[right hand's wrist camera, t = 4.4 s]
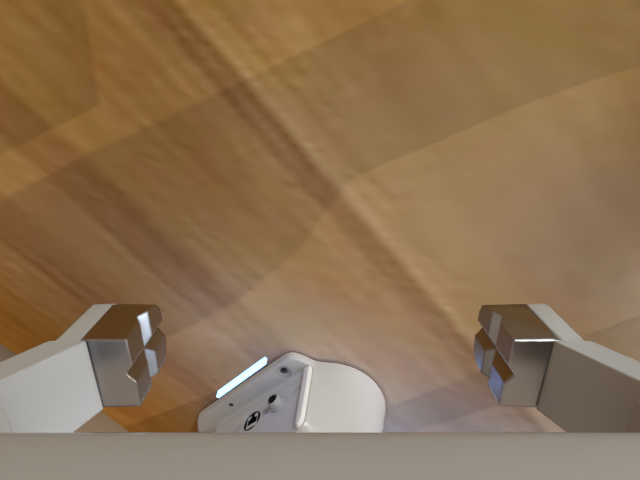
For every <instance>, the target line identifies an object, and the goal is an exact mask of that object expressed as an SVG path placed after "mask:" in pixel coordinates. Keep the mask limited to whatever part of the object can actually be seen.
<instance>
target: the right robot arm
mask: <svg viewBox="0 0 640 480" xmlns="http://www.w3.org/2000/svg"><path fill="white" fill-rule="evenodd" d="M161 321H162V317H161V312H160V308H159V307H158V306H157V305H146V304H95V305H92V306H91V307H90V308H89V309H88V310H87V311H86V312H85V313H84V314H83V315H82V316H81V317H80V318H79V319H78V320H77V321H76V322H75V323H74V324H73V325H72V326H71V327H69V328H68V329H67V330H66V331H65V332H64V333H63V334H62V335H61V336H60V337H59V338H58V339H57V340H56V341H48V342H45V343H43V344H41V345H38V346H36V347H34V348H31V349H29V350H27V351H25V352H22V353H20V354H18V355H15V356H13V357H11V358H9V359H6V360H4V361H2V362H0V480H640V362H638V361H636V360H634V359H631V358H629V357H627V356H625V355H622V354H620V353H618V352H615V351H613V350H611V349H608V348H606V347H604V346H602V345H599V344H597V343H595V342H592V341H584V340H583V339H582V338H581V337H580V336H579V335H578V334H577V333H576V332H575V331H574V330H573V329H572V328H571V327H570V326H569V325H568V324H566V323H565V322H564V321H563V320H562V319H561V318H560V317H559V316H558V315H557V314H556V313H555V312H554V311H553V310H552V309H551V308H550V307H549V306H548V305H545V304H543V303H542V304H511V305H482V307H481V309H480V311H479V317H478V321H479V322H480V324H481V326H482V327H483V328H482V329H481V330H480V331H479V332H478V333H477V334H476V335H475V341H474V355H475V360H476V363H477V366H478V368H479V370H480V372H481V373H483V374H484V375H486V376H487V377H489V383H488V386H489V388H490V390H491V391H492V393H493V395H494V397H495V399H496V400H497V402H498V404H499V406H515V407H537V409H538V410H539V411H540V412H542V413H543V414H544V415H545V416H547V417H548V418H549V419H551V420H552V421H553V422H554V423H556V424H557V425H558V426H560V427H561V428H562V429H563V430H565V431H566V432H490V433H383V424H384V419H385V413H386V405H385V400H384V397H383V394H382V392H381V390H380V389H379V387H378V386H377V384H376V383H375V382H374V381H373V380H372V379H371V378H370V377H368V376H367V375H366V374H364V373H363V372H361V371H359V370H357V369H355V368H352V367H350V366H347V365H343V364H338V363H330V362H320V361H315V360H313V359H310V358H308V357H306V356H304V355H301V354H298V353H294V352H290V353H286V354H284V355H283V356H281V357H280V358H278V359H277V360H276V361H274V362H273V363H271V364H270V365H268V366H267V367H265V368H264V369H262V370H261V371H259V372H258V373H256V374H255V375H253V376H252V377H250V378H249V379H248V380H246V381H245V382H243V383H242V384H240V385H239V386H237V387H236V388H234V387H235V386H236V385H238V384H239V383H241V382H242V381H243V380H245V379H246V378H247V377H249V376H250V375H252V374H253V373H254V372H256V371H257V370H259V369H260V368H261V367H263V366H264V365H266V362H267V358H266V357H264V358H263V359H261V360H260V361H258V362H257V363H256V364H254V365H253V366H252V367H250V368H249V369H247V370H246V371H245V372H243V373H242V374H240V375H239V376H238V377H236V378H235V379H234V380H232V381H231V382H229V383H228V384H227V385H225V386H224V387H223V388H221V389H220V390H218V393H217V396H216V397H218V398H220V397H221V396H222V395H224V394H225V393H227V392H228V391H229V390H231V389H232V388H234V389H233V390H231V391H230V392H228V393H227V394H225V395H224V396H223V397H221V398H220V399H218V400H217V401H215V402H214V403H212V404H211V405H209V406H208V407H206V408H205V409H204V410H202V411H201V412H200V413H199V416H198V420H197V425H198V432H199V433H142V432H126V433H125V432H124V433H123V432H121V433H119V432H117V433H115V432H114V433H112V432H109V433H107V432H105V433H104V432H100V433H99V432H98V433H97V432H96V433H95V432H94V433H93V432H91V433H89V432H86V433H84V432H81V433H80V432H79V433H78V432H77V433H76V432H75V433H74V431H75V430H77V429H78V428H79V427H80V426H82V425H83V424H84V423H86V422H87V421H88V420H90V419H91V418H92V417H93V416H95V415H96V414H97V413H99V412H100V411H101V410H102V409H103V407H124V406H141V404H142V402H143V400H144V399H145V397H146V395H147V393H148V391H149V390H150V388H151V386H152V383H151V377H153V376H154V375H156V374H157V373H159V372H160V370H161V368H162V366H163V363H164V359H165V355H166V340H165V335H164V334H163V333H162V332H161V331H160V330H159V329H158V328H157V327H158V326H159V324H160V322H161ZM281 368H286V370H283V369H281Z"/></svg>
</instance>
